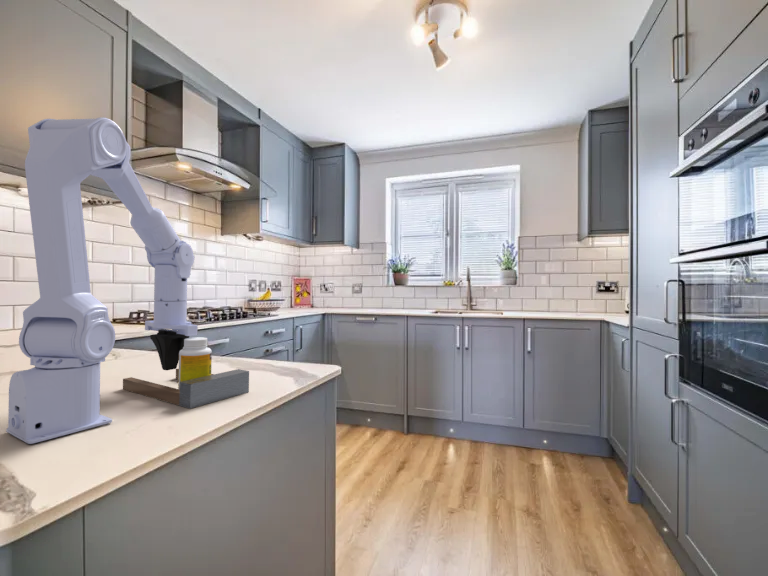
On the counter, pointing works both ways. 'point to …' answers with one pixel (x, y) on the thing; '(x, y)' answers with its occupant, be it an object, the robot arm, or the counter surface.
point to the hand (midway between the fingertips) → (169, 369)
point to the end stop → (213, 388)
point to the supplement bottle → (194, 359)
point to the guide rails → (153, 389)
